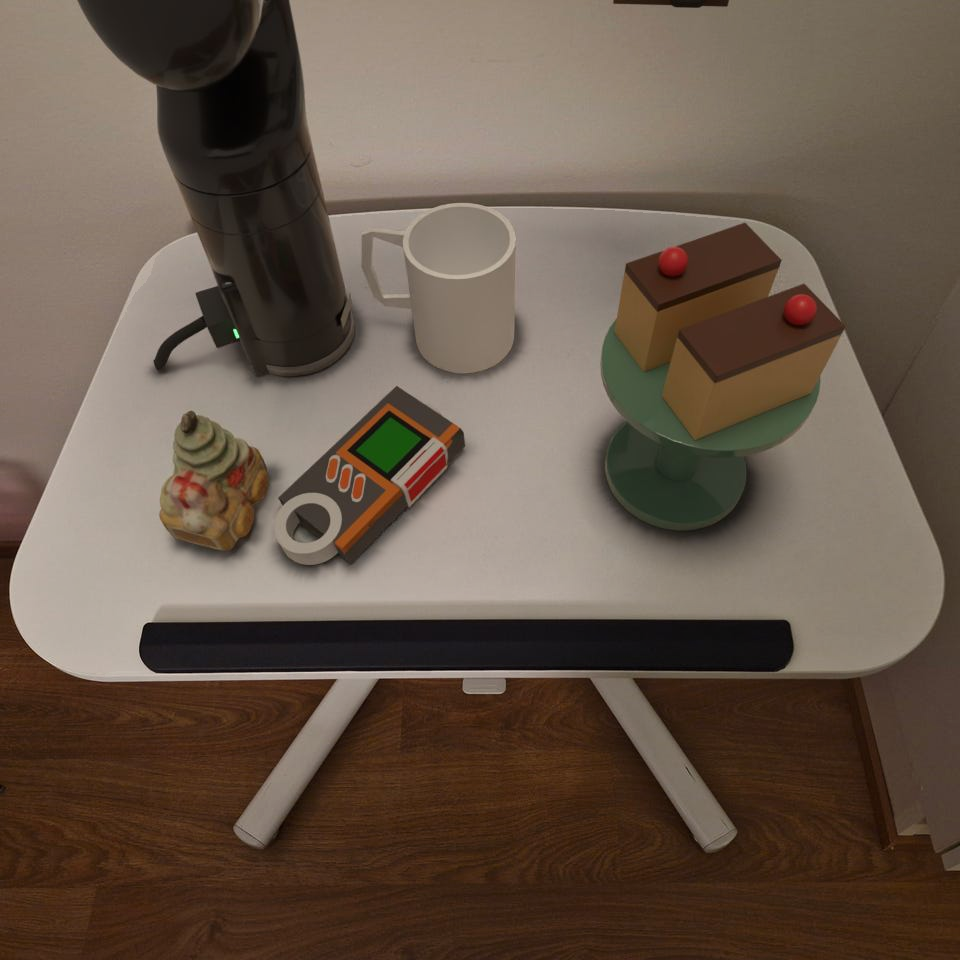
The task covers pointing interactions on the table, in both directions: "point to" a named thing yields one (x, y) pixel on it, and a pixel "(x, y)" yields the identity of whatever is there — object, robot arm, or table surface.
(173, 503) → the ornament
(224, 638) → the table surface
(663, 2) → the knife
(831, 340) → the cake
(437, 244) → the cup
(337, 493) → the electronic device
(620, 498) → the cake stand
